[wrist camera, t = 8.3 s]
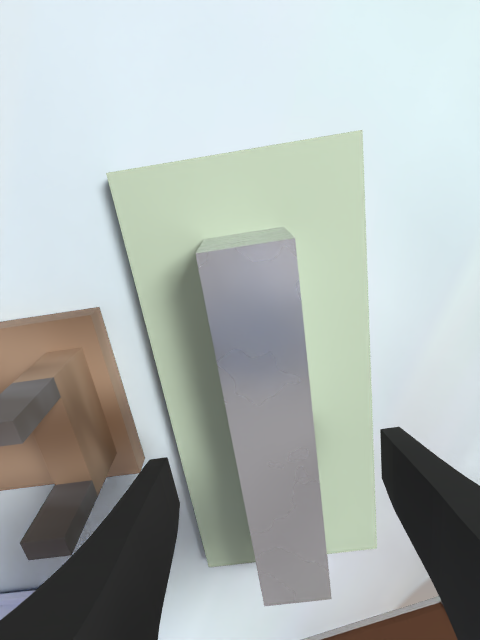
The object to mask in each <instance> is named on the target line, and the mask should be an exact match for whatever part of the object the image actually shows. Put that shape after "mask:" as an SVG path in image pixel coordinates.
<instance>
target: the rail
mask: <svg viewBox="0 0 480 640" xmlns="http://www.w3.org/2000/svg"><path fill="white" fill-rule="evenodd" d="M195 254H196V259H197V264H198V270H199V275H200V280H201V285H202V290H203V295H204V300H205V305H206V310H207V315H208V321H209V326H210V331H211V336H212V341H213V346H214V351H215V356H216V361H217V366H218V372H219V377H220V382H221V387H222V392H223V397H224V402H225V407H226V412H227V417H228V423H229V428H230V433H231V438H232V443H233V448H234V453H235V458H236V463H237V468H238V474H239V479H240V484H241V489H242V494H243V499H244V504H245V509H246V514H247V519H248V525H249V530H250V535H251V540H252V545H253V550H254V555H255V560H256V565H257V570H258V576H259V581H260V586H261V591H262V596H263V601H264V606H271V605H281V604H290V603H299V602H308V601H318V600H327V599H331V589H330V579H329V569H328V559H327V550H326V540H325V530H324V520H323V510H322V500H321V490H320V480H319V470H318V460H317V450H316V440H315V430H314V420H313V411H312V401H311V391H310V381H309V371H308V361H307V351H306V341H305V331H304V321H303V311H302V301H301V291H300V281H299V271H298V262H297V252H296V242H295V237H294V236H293V235H292V234H291V233H290V232H289V231H288V230H287V229H286V228H285V227H277V228H271V229H265V230H258V231H252V232H245V233H239V234H233V235H226V236H220V237H214V238H207V239H204V240H203V242H202V243H201V245H200V247H199V248H198V250H197V252H196V253H195Z"/></svg>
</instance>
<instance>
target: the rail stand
mask: <svg viewBox="0 0 480 640" xmlns="http://www.w3.org/2000/svg"><path fill="white" fill-rule="evenodd" d="M144 459H145V457H144V454H143V450H142V447H141V444H140V440H139V437H138V434H137V430H136V427H135V424H134V420H133V417H132V414H131V410H130V407H129V404H128V401H127V397H126V394H125V391H124V387H123V384H122V381H121V377H120V374H119V371H118V367H117V364H116V361H115V357H114V354H113V351H112V348H111V344H110V341H109V338H108V334H107V331H106V328H105V324H104V321H103V318H102V314H101V311H100V308H99V307H96V308H90V309H83V310H76V311H70V312H63V313H56V314H50V315H43V316H36V317H30V318H23V319H17V320H10V321H3V322H0V491H2V490H10V489H18V488H25V487H33V486H41V485H49V484H55V486H54V487H53V489H52V491H51V492H50V494H49V496H48V497H47V499H46V501H45V502H44V504H43V506H42V507H41V509H40V511H39V512H38V514H37V516H36V517H35V519H34V521H33V522H32V524H31V525H30V527H29V529H28V530H27V532H26V534H25V535H24V537H23V539H22V540H21V542H20V544H21V546H22V548H23V550H24V552H25V554H26V556H27V558H28V560H34V559H42V558H51V557H59V556H68V555H72V553H73V551H74V548H75V546H76V544H77V542H78V539H79V537H80V535H81V533H82V530H83V528H84V526H85V524H86V521H87V519H88V517H89V515H90V512H91V510H92V508H93V506H94V503H95V501H96V499H97V497H98V494H99V492H100V490H101V488H102V486H103V483H104V481H105V479H106V477H112V476H120V475H128V474H136V473H140V471H141V468H142V465H143V462H144Z"/></svg>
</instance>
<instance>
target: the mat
mask: <svg viewBox="0 0 480 640" xmlns="http://www.w3.org/2000/svg"><path fill="white" fill-rule="evenodd" d="M106 174H107V178H108V182H109V186H110V189H111V193H112V197H113V201H114V205H115V209H116V213H117V216H118V220H119V224H120V228H121V232H122V236H123V239H124V243H125V247H126V251H127V255H128V259H129V262H130V266H131V270H132V274H133V278H134V282H135V286H136V289H137V293H138V297H139V301H140V305H141V309H142V312H143V316H144V320H145V324H146V328H147V332H148V335H149V339H150V343H151V347H152V351H153V355H154V359H155V362H156V366H157V370H158V374H159V378H160V382H161V385H162V389H163V393H164V397H165V401H166V405H167V408H168V412H169V416H170V420H171V424H172V428H173V432H174V435H175V439H176V443H177V447H178V451H179V455H180V458H181V462H182V466H183V470H184V474H185V478H186V481H187V485H188V489H189V493H190V497H191V501H192V505H193V508H194V512H195V516H196V520H197V524H198V528H199V531H200V535H201V539H202V543H203V547H204V551H205V554H206V558H207V562H208V566H209V567H217V566H226V565H235V564H243V563H252V562H256V560H255V555H254V550H253V545H252V540H251V535H250V530H249V525H248V519H247V514H246V509H245V504H244V499H243V494H242V489H241V484H240V479H239V474H238V468H237V463H236V458H235V453H234V448H233V443H232V438H231V433H230V428H229V423H228V417H227V412H226V407H225V402H224V397H223V392H222V387H221V382H220V377H219V372H218V366H217V361H216V356H215V351H214V346H213V341H212V336H211V331H210V326H209V321H208V315H207V310H206V305H205V300H204V295H203V290H202V285H201V280H200V275H199V270H198V264H197V259H196V254H195V253H196V252H197V250H198V248H199V247H200V245H201V243H202V242H203V240H204V239H207V238H214V237H220V236H226V235H233V234H239V233H245V232H252V231H258V230H265V229H271V228H277V227H285V228H286V229H287V230H288V231H289V232H290V233H291V234H292V235H293V236H294V237H295V242H296V252H297V262H298V271H299V281H300V291H301V301H302V311H303V321H304V331H305V341H306V351H307V361H308V371H309V381H310V391H311V401H312V411H313V420H314V430H315V440H316V450H317V460H318V470H319V480H320V490H321V500H322V510H323V520H324V530H325V540H326V550H327V554H332V553H340V552H349V551H358V550H367V549H376V548H377V536H376V507H375V478H374V450H373V421H372V392H371V363H370V335H369V306H368V277H367V249H366V220H365V191H364V162H363V134H362V130H359V131H353V132H347V133H341V134H335V135H330V136H324V137H318V138H312V139H306V140H300V141H294V142H288V143H282V144H276V145H270V146H264V147H258V148H252V149H246V150H240V151H234V152H229V153H223V154H217V155H211V156H205V157H199V158H193V159H187V160H181V161H175V162H169V163H163V164H157V165H151V166H145V167H139V168H134V169H128V170H122V171H116V172H110V173H106Z"/></svg>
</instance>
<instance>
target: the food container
mask: <svg viewBox="0 0 480 640" xmlns="http://www.w3.org/2000/svg"><path fill="white" fill-rule="evenodd" d="M302 640H458V639H457V637H456V634H455V632H454V630H453V627H452V625H451V623H450V620H449V618H448V616H447V613H446V611H445V609H444V606H443V604H442V602H441V599H440V597H439V596H438V597H435V598H432V599H429V600H426V601H422V602H419V603H416V604H413V605H410V606H406V607H403V608H400V609H397V610H394V611H391V612H387V613H384V614H381V615H378V616H375V617H372V618H368V619H365V620H362V621H359V622H356V623H353V624H350V625H346V626H343V627H340V628H337V629H334V630H331V631H327V632H324V633H321V634H318V635H315V636H312V637H308V638H305V639H302Z"/></svg>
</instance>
